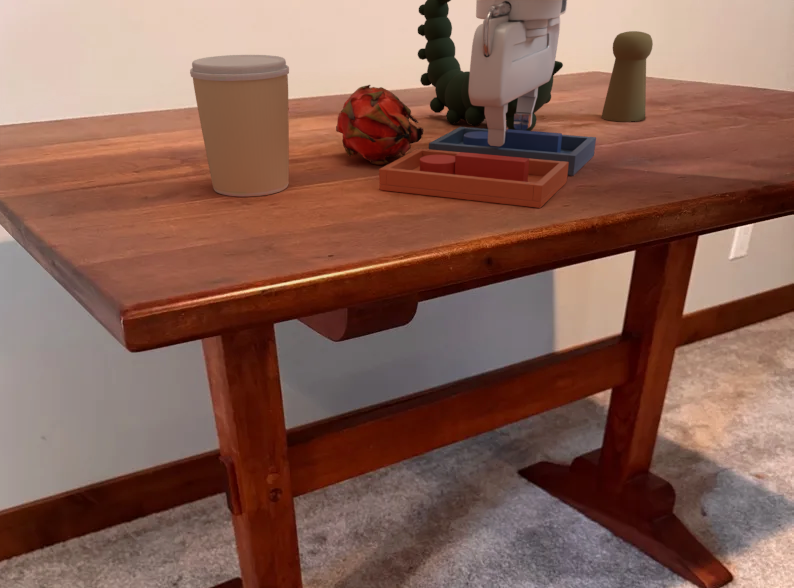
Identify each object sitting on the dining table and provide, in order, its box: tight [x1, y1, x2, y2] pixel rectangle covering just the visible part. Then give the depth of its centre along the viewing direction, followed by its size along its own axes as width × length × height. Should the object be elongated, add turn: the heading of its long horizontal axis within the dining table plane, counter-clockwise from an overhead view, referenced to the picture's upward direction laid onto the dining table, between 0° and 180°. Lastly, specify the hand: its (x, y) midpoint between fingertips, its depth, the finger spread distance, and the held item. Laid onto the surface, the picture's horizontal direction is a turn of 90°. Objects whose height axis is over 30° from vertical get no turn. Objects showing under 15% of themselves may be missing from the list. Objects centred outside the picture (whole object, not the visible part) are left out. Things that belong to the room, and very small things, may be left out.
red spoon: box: [420, 152, 529, 182], centre depth 80 cm, size 11×4×2 cm, turn 65°
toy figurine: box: [417, 0, 564, 131], centre depth 103 cm, size 9×19×25 cm
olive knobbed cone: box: [600, 30, 654, 123], centre depth 110 cm, size 6×6×11 cm
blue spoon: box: [463, 129, 563, 153], centre depth 91 cm, size 11×4×2 cm, turn 65°
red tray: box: [378, 148, 569, 209], centre depth 81 cm, size 17×10×2 cm, turn 65°
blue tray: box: [428, 126, 597, 177], centre depth 91 cm, size 17×10×2 cm, turn 65°
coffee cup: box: [189, 54, 290, 197], centre depth 79 cm, size 9×9×12 cm
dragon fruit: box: [335, 84, 424, 166], centre depth 90 cm, size 8×8×12 cm
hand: (510, 136), depth 90 cm, fingers open, 8 cm apart
